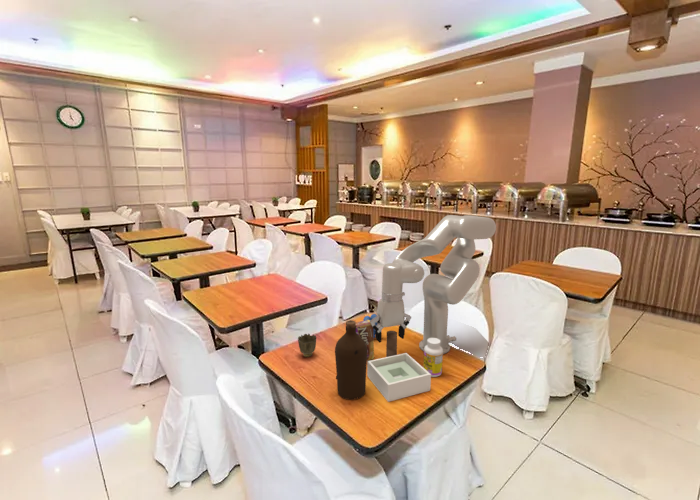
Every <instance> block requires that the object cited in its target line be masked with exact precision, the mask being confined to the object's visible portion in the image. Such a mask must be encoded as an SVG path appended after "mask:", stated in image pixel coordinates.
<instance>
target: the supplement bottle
mask: <svg viewBox="0 0 700 500" xmlns="http://www.w3.org/2000/svg"><path fill="white" fill-rule="evenodd" d="M427 344H428V345H426V346H425V348H424V351H423V365H422V367H423V368H424V369H425V370H427V371H428V372H429V373H430V374H431V378H437V377H439V376H441V375H442V371H443V355H444V354H443V349H442V347H441V346H440V340H439V339H437V338H429V339H428V340H427Z"/></svg>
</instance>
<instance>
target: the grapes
mask: <svg viewBox="0 0 700 500" xmlns="http://www.w3.org/2000/svg"><path fill="white" fill-rule="evenodd" d="M376 316H377V313H372V314H371V315H370V316H369V315H365V316H364V317H363V320H362V321H365V320H372V319H373V318H375V317H376ZM377 324H378V323H377V322H375V326H376V325H377ZM373 335H374V339H376V338H375V336H376V330H375V329H373Z"/></svg>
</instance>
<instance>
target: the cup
mask: <svg viewBox="0 0 700 500" xmlns="http://www.w3.org/2000/svg"><path fill="white" fill-rule="evenodd" d="M297 342H298V347H299V351H300V352H301V354H303V357H304V358H311V357H312V356H313V353H314V351H315V350H316V346H317V335H315V334H314V333H313V334H310V333H304V334H303V335H302V334H301V335H300V336H298V337H297Z"/></svg>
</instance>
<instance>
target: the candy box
mask: <svg viewBox="0 0 700 500" xmlns="http://www.w3.org/2000/svg"><path fill="white" fill-rule="evenodd" d="M355 322H356V321H355ZM356 333H357V334H358V335H359V336H360V337H361V338H362V339H363V340H364V341H365V343H366V346H367V361H371V360H375V350H374V349H375V343H374V342H375V341H374V340H375V338H374V335H373V328H372V326H371V324H370V320H365V321H363V320H362V321H357V322H356Z"/></svg>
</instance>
